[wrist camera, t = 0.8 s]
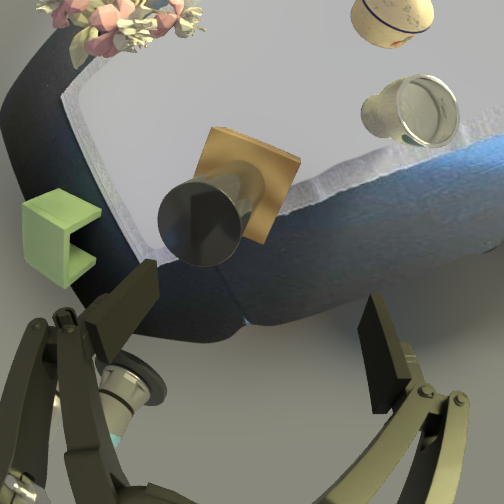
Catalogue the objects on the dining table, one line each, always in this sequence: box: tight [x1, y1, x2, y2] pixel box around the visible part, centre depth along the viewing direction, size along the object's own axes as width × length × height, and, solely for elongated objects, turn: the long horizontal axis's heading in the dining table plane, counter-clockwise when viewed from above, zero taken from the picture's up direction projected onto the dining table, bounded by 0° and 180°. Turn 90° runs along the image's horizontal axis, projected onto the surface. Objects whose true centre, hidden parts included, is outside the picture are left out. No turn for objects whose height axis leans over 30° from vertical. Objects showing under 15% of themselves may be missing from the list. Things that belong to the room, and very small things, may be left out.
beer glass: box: [361, 74, 460, 148], centre depth 24 cm, size 7×7×15 cm
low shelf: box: [193, 127, 301, 244], centre depth 35 cm, size 11×11×6 cm
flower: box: [36, 0, 206, 69], centre depth 20 cm, size 20×22×25 cm
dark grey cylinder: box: [158, 160, 265, 267], centre depth 26 cm, size 6×6×14 cm
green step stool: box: [22, 188, 102, 289], centre depth 41 cm, size 12×12×10 cm
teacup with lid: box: [351, 0, 434, 49], centre depth 19 cm, size 12×9×12 cm
